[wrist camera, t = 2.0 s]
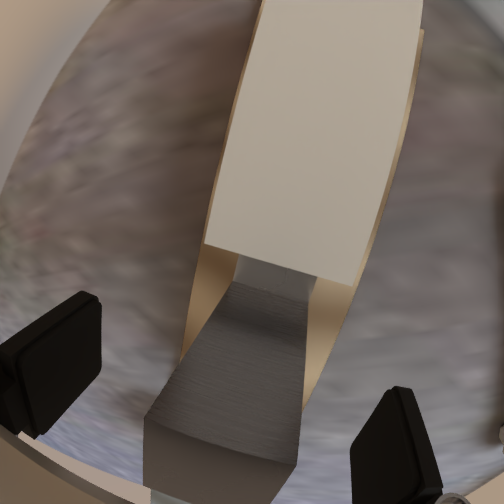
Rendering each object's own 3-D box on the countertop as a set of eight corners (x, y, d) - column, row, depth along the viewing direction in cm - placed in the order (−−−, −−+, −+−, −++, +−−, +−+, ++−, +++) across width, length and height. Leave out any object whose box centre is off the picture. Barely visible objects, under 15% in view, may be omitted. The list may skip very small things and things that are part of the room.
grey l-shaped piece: (312, 5, 11) (298, -169, 2) (376, 22, 11) (445, -133, 1) (213, 390, 18) (145, 540, 8) (262, 405, 18) (220, 564, 8)
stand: (268, -5, 14) (239, -90, 7) (419, 36, 14) (477, -29, 6) (172, 431, 25) (135, 502, 17) (272, 462, 24) (256, 540, 16)
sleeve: (296, 6, 14) (285, -62, 7) (390, 32, 13) (425, -26, 7) (243, 212, 17) (204, 243, 11) (337, 239, 17) (352, 286, 11)
